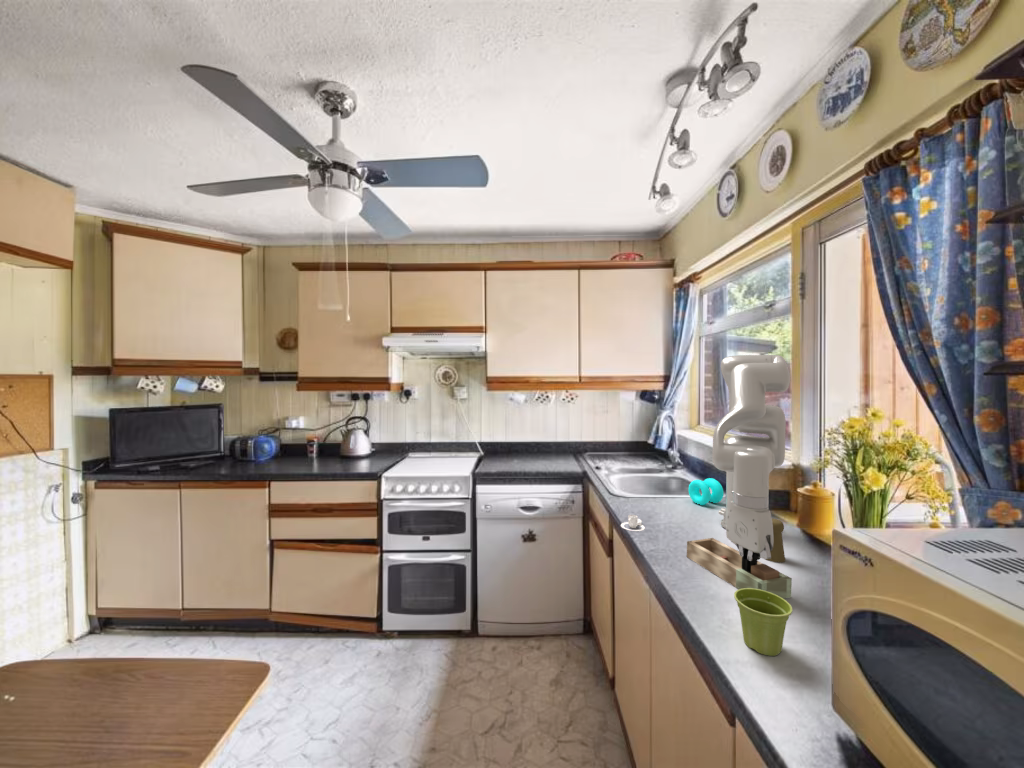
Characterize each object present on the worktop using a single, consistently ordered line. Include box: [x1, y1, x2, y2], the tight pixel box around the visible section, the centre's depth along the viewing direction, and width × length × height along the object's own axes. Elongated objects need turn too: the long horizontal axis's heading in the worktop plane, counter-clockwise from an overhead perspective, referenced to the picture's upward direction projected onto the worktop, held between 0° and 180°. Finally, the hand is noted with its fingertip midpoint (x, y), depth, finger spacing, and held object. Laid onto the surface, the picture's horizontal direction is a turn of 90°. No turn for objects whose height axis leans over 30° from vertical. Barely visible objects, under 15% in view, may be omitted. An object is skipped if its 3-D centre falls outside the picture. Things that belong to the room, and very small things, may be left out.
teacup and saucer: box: [620, 514, 646, 532], centre depth 135 cm, size 9×8×4 cm
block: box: [751, 563, 780, 581], centre depth 94 cm, size 4×4×4 cm
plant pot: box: [733, 588, 793, 657], centre depth 75 cm, size 9×9×9 cm
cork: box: [765, 518, 786, 563], centre depth 112 cm, size 6×6×11 cm
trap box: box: [686, 537, 793, 600], centre depth 102 cm, size 24×9×4 cm, turn 16°
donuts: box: [687, 477, 725, 506], centre depth 161 cm, size 10×10×10 cm
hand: (749, 573), depth 98 cm, fingers closed
